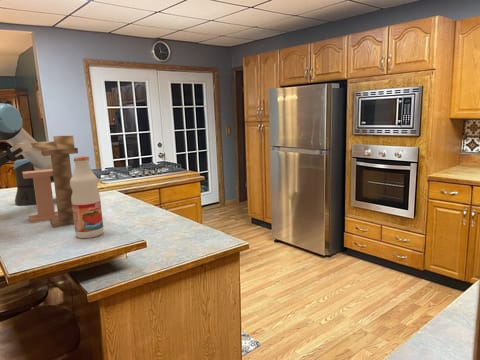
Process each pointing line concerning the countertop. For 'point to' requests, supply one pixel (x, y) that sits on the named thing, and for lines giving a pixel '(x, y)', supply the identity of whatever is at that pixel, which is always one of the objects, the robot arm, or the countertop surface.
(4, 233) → the countertop surface
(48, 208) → the terracotta stand
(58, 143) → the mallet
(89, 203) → the fruit juice
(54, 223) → the walnut stand
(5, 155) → the robot arm
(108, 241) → the countertop surface
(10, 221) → the countertop surface
